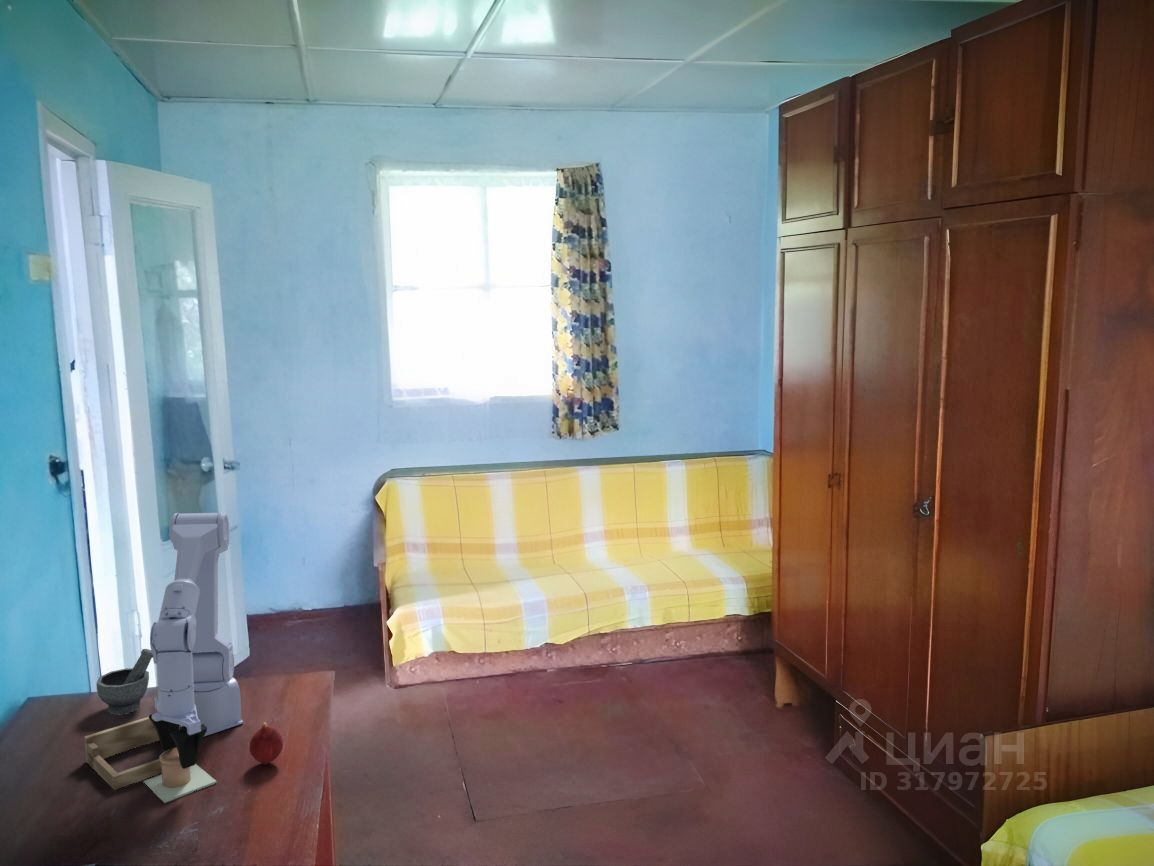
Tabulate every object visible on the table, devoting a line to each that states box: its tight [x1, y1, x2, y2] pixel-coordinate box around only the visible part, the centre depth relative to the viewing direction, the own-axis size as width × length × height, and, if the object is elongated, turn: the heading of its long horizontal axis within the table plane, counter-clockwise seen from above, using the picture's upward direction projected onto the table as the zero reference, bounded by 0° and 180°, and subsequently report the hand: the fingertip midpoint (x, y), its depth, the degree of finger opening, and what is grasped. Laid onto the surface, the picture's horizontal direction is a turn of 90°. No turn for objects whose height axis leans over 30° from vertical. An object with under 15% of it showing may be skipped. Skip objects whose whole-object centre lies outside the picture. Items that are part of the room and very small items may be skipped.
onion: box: [249, 721, 284, 765], centre depth 162 cm, size 6×6×8 cm
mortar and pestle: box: [95, 648, 153, 716], centre depth 184 cm, size 11×9×12 cm
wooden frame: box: [84, 716, 162, 791], centre depth 162 cm, size 14×14×5 cm
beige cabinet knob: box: [159, 748, 191, 788], centre depth 155 cm, size 5×5×5 cm
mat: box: [143, 763, 217, 804], centre depth 155 cm, size 9×9×1 cm
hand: (179, 758), depth 155 cm, fingers open, 7 cm apart
